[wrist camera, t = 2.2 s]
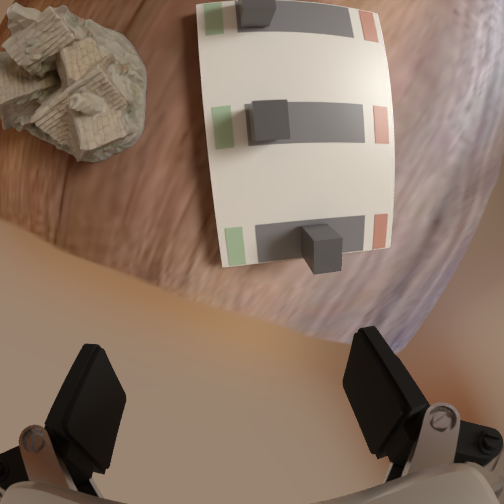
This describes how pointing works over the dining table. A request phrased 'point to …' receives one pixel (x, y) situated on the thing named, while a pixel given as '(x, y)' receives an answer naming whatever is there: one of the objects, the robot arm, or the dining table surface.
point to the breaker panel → (297, 128)
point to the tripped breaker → (322, 248)
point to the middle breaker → (269, 120)
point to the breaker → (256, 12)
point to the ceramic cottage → (71, 83)
